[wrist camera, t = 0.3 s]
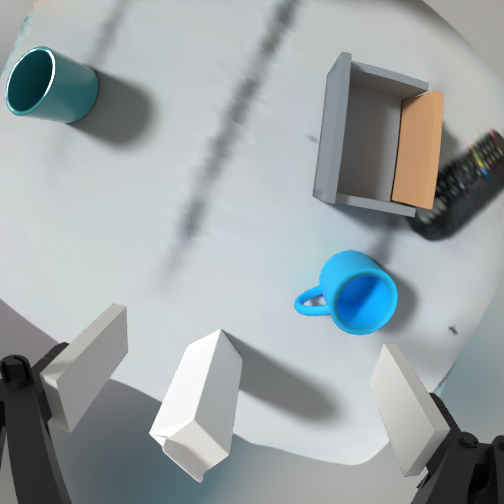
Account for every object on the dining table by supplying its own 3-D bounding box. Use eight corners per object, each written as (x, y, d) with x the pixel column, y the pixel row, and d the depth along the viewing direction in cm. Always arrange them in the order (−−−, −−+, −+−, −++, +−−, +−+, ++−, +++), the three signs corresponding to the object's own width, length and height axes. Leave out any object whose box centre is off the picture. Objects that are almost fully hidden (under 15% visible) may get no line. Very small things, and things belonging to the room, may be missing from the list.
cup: (85, 42, 35) (43, 18, 24) (108, 100, 37) (63, 84, 26) (42, 77, 36) (-3, 63, 25) (62, 135, 39) (13, 130, 28)
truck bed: (327, 75, 35) (342, 51, 27) (405, 94, 35) (436, 79, 26) (312, 195, 39) (324, 202, 31) (392, 209, 39) (422, 220, 30)
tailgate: (402, 101, 35) (435, 90, 27) (410, 104, 35) (443, 93, 27) (391, 199, 38) (423, 207, 30) (399, 201, 38) (431, 209, 30)
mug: (371, 243, 40) (393, 259, 32) (380, 298, 42) (401, 323, 34) (284, 266, 42) (288, 288, 34) (298, 321, 44) (304, 351, 36)
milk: (210, 373, 46) (178, 488, 25) (187, 344, 45) (138, 455, 24) (244, 358, 45) (226, 478, 24) (221, 327, 44) (186, 443, 23)
